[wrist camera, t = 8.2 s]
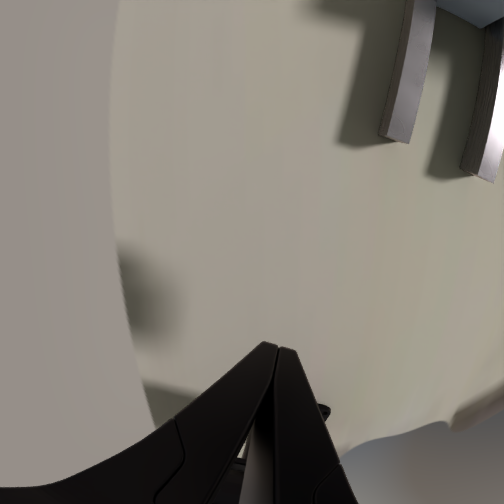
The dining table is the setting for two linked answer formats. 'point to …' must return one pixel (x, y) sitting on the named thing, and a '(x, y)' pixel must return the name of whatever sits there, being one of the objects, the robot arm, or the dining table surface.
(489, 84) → the rails
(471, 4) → the blue block white cap
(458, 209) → the dining table surface
